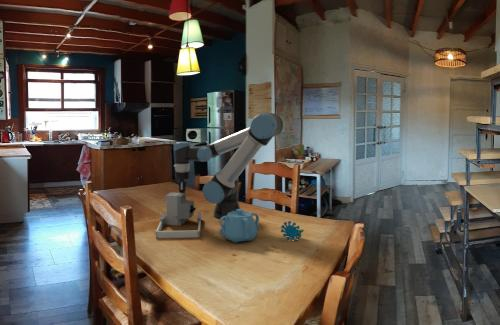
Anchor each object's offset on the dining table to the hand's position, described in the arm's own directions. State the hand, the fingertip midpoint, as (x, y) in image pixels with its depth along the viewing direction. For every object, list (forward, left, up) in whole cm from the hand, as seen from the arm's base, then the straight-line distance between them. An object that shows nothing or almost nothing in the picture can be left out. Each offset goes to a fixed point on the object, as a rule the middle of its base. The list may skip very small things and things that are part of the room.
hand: (182, 214), depth 215 cm
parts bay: (0, +25, -2) cm, 25 cm away
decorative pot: (-28, +37, -2) cm, 46 cm away
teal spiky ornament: (-51, +39, -2) cm, 65 cm away
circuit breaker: (0, +11, -2) cm, 11 cm away
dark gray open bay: (0, +10, -2) cm, 11 cm away
